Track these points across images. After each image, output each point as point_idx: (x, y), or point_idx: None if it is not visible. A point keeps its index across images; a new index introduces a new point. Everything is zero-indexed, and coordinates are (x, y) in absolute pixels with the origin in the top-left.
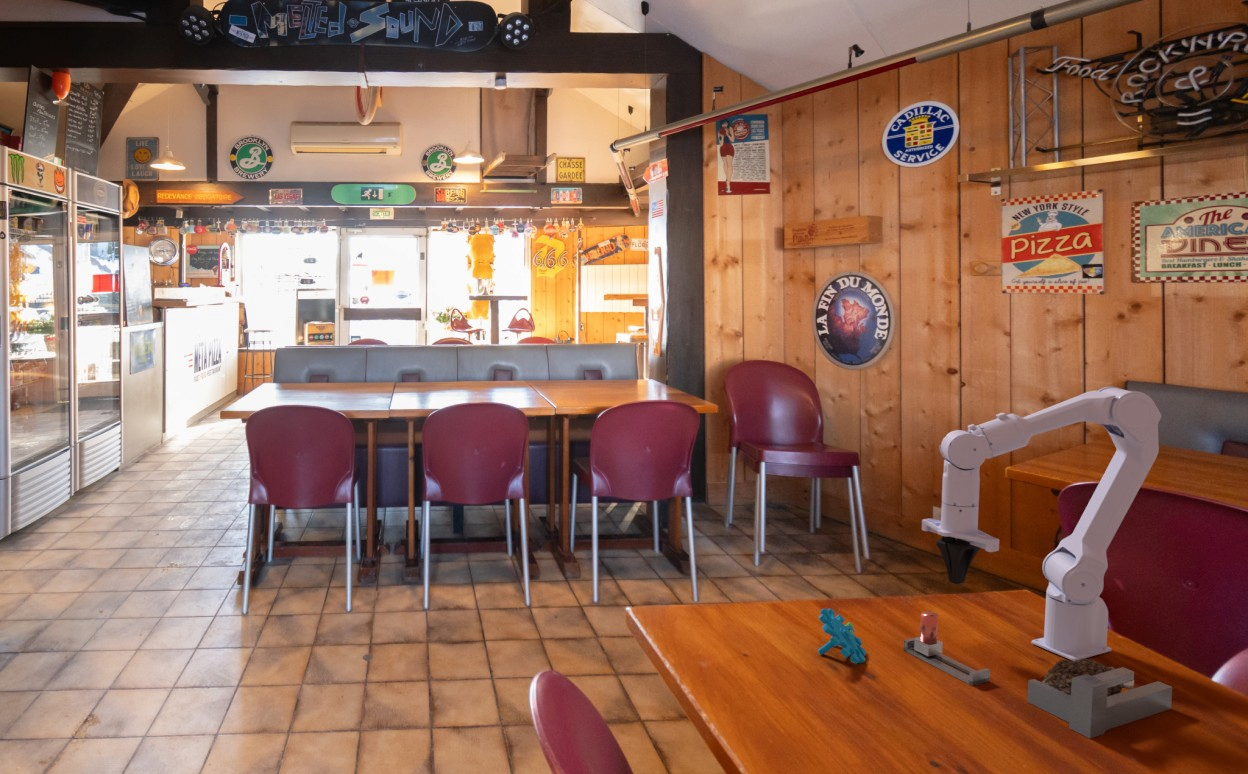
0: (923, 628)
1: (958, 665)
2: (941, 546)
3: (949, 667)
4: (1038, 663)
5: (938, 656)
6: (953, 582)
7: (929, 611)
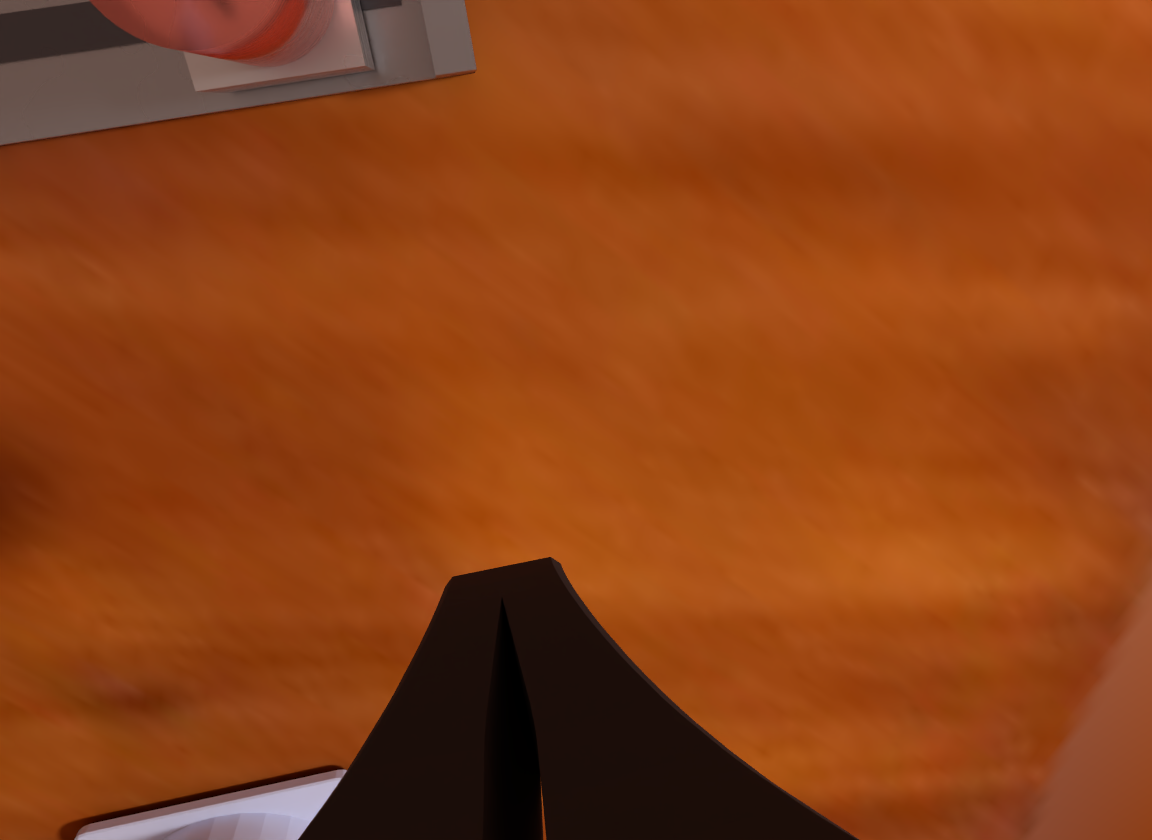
0: None
1: (7, 86)
2: None
3: None
4: (84, 654)
5: None
6: (480, 577)
7: (270, 6)
